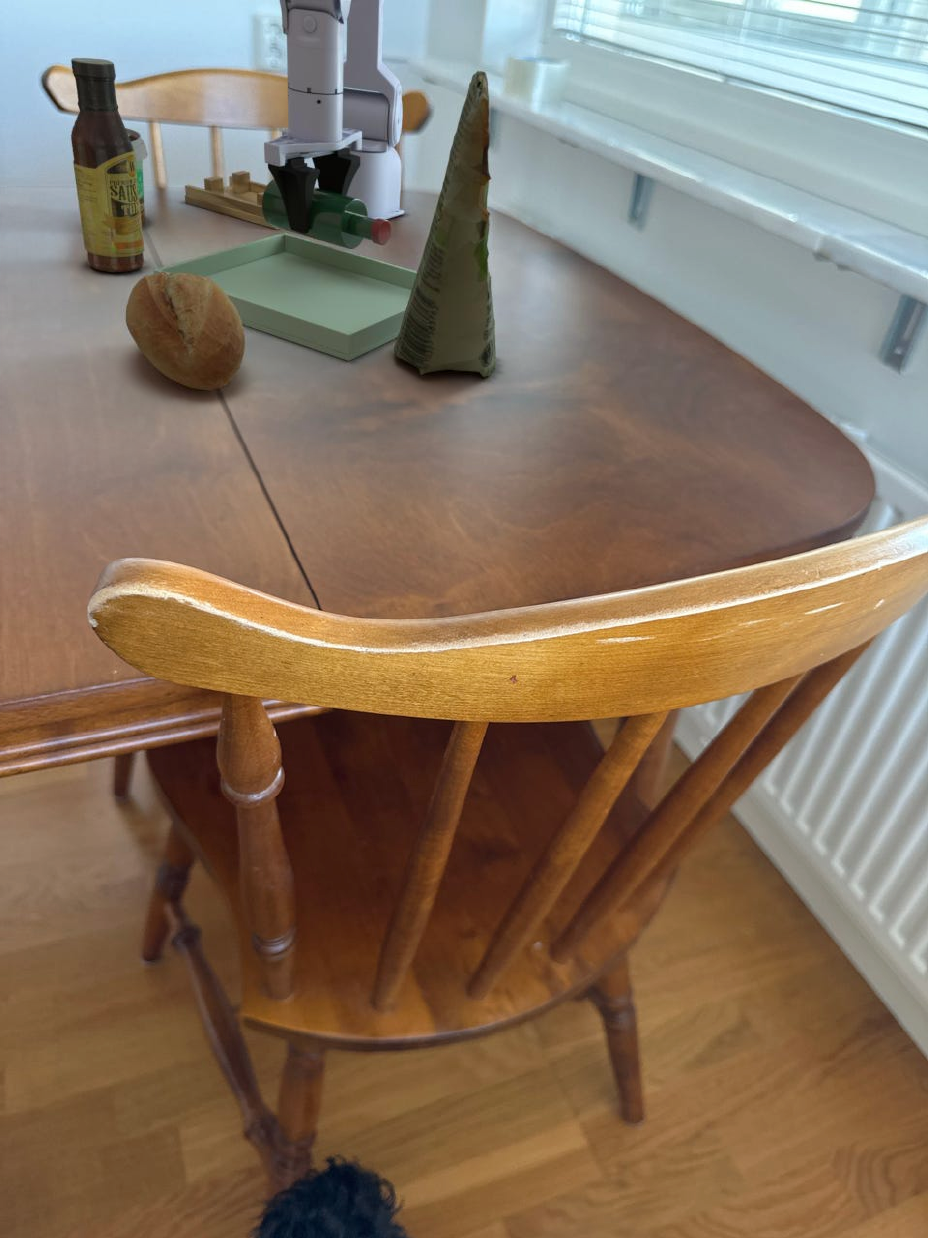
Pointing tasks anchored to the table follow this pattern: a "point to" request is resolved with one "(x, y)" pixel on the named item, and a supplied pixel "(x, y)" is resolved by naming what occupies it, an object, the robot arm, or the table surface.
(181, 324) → the bread roll
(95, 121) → the sauce bottle
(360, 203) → the bottle
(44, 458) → the table surface
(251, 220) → the rack
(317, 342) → the tray
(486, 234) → the olive green tall cone
